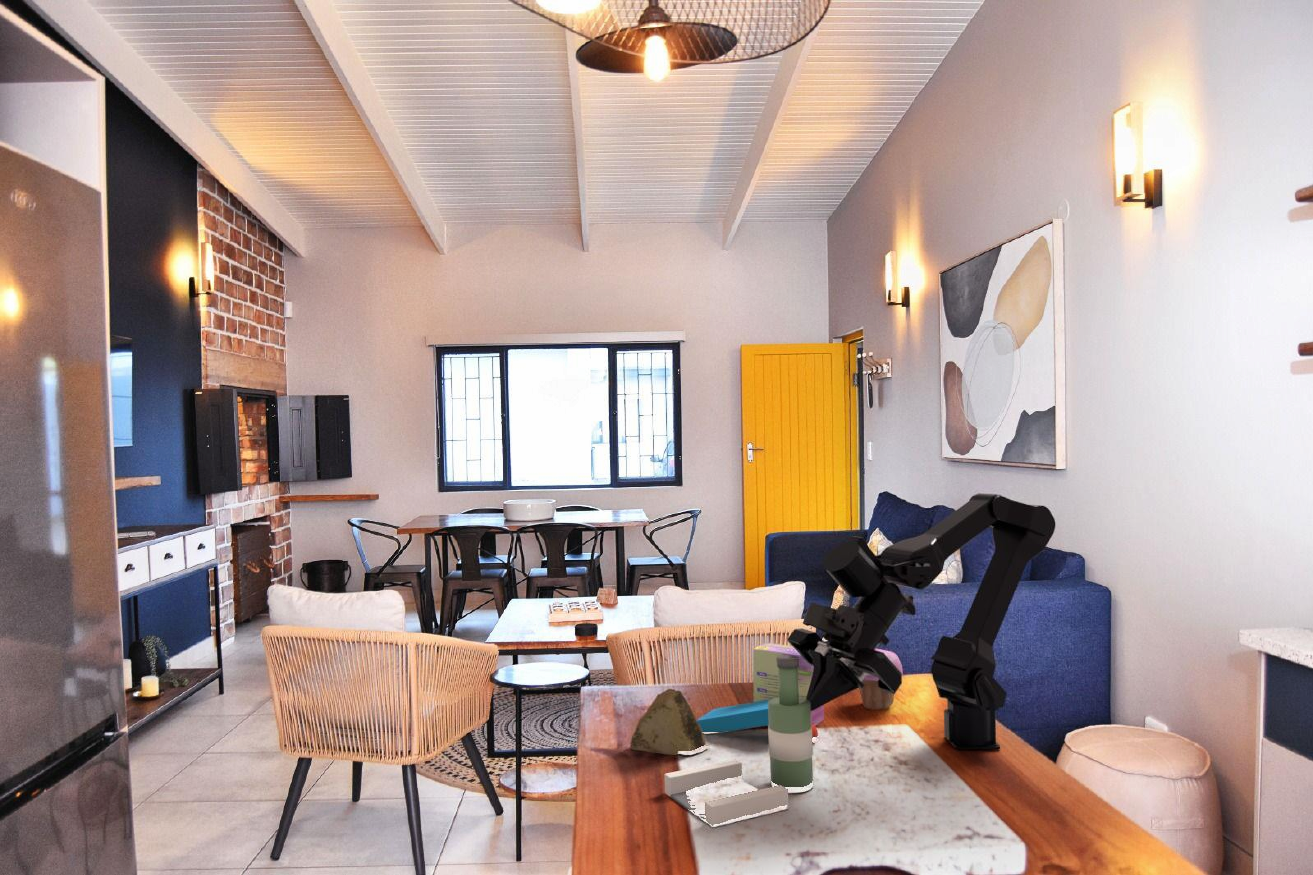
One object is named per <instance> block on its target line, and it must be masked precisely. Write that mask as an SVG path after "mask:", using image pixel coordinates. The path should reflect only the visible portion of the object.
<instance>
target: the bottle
mask: <svg viewBox="0 0 1313 875" xmlns="http://www.w3.org/2000/svg"><path fill="white" fill-rule="evenodd" d="M776 663H777V667H778V678H779V697H778V698H774V699H771V700H770V701H769V702H768V714H769V725H768V726H767V727H768V728H767V732H768V755H769V763H770V764H769V769H770V782H771V781H772V782H773V783H775V784H777V785H781V786H783V787H804V786H807V785H809V784H810V783H812V781H813V782H814V771H813V767H814V764H813V756H814V748H813V747H814V746H813V745H814V744H813V742H812V726H811V706H810V701H808V700H806V699H804V698H799V689H798V667H799V657H797V656H792V655H783V656H778V657H777V658H776Z"/></svg>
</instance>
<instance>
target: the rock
mask: <svg viewBox="0 0 1313 875" xmlns="http://www.w3.org/2000/svg"><path fill="white" fill-rule="evenodd" d="M697 720H698V719H697V718H696V715H695V714H694V711H693V708H692V706H691V705H690V704H689V702H688V700H687V699H686V698H685V696H684V695H683V693H682V691H680V690H676V689H674V688H667V689H666V690H664V691H662V692H661V693H659V694H657V696H656V697H655V698H654V700H653V701H652V703H651V704H650V706H649V707H648V708H647V709H646V711H645V713H644V714H643V715H642V716H641V717H640V719H639V721H638V723H637V726H636V728H635V730H634V733H633V735H632V736H631V741H630V745H629V746H630V749H631V750H634V751H640V752H641V751H643V752H647V753H656V754H662V755H669V756H678V755H677V753H678V751H692V750H695V749H697V748H699V747H701V746H704V745H705V744H706V745H707V743H706V737H705V736H704V734H703V733H702V729H701V726H700V725H699V724H698V722H697Z"/></svg>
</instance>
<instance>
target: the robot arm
mask: <svg viewBox="0 0 1313 875" xmlns="http://www.w3.org/2000/svg"><path fill="white" fill-rule="evenodd" d="M989 527H991V528H992V531H991V534H992V541H993V545H994V552H993V553H992V557H991V558H990V562H989V564H988V566H987V569H986V570H985V573H984V575H983V578H982V580H981V582H980V584H979V587H978V590H977V592H976V593H975V596H974V599H973V601H972V603H971V605H970V608H969V610H968V613H967V614H966V617H965V619H964V622H963V624H962V626H961V629H960V631H959V632H958V633H956V634H955V635H954V636H953V637H951V636H948V635H942V637H941V638H940V639H939V642H938V645H937V648H936V650H935V652H934V654H933V655H932V656H931V657H930V659H931V660H933V661H932V664H931V667H930V674H931V675H932V680H933V682H934V684H935V686H936V687H935V688H936V690H937V694H938V696H939V698H941V699H945V700H947V703H946V704H947V708H946V709H944V710H943V722H944V723H943V726H944V727H943V729H944V732H943V733H944V737H945V739H947V741H948V742H949V743H950V744H951V746H953V747H954V748H955V749H956V750H959V751H960V750H961V751H962V750H964V751H966V750H967V751H968V750H970V751H971V750H981V751H982V750H1000V749H1001V745H1000V744H999V743H998V742H997V733H996V732H997V727H996V726H997V725H996V723H997V722H996V721H997V720H996V718H997V717H996V711H998V710H999V709H1001V708H1003V707H1004V706H1005V703H1006V698H1007V691H1006V690H1005V689H1004V688H1003V687H1002V686H1001V685H1000V683H998V681H997V680H996V679H995V677H994V674H995V671H996V667H997V664H996V659H995V654H994V653H995V652H994V648H993V646H994V644H995V641H996V638H997V636H998V633H999V631H1000V629H1001V627H1002V624H1003V621H1004V619H1005V617H1006V615H1007V612H1008V610H1009V607H1010V605H1011V602H1012V600H1013V598H1014V596H1015V593H1016V590H1017V589H1018V585H1019V584H1020V580H1021V579H1022V576H1023V574H1024V572H1025V568H1026V567H1027V564H1028V563H1029V562H1030V561H1031V560H1033V559H1034V558H1035V557H1037V556H1038V555H1039V554H1041V553H1042V552H1043V551H1044V550H1045V549H1046V547H1047V545H1048V543H1049V542H1050V540H1051V538H1052V537H1053V535H1054V533H1055V530H1056V519H1055V517H1054V516H1053V513H1052V512H1051V510H1050V509H1049V507H1047V506H1045V505H1036V504H1027V503H1024V502H1020V501H1016V500H1013V499H1010V498H1009V497H1006V496H1003V495H1001V494H998V493H996V494H994V493H976V494H973V495H972V496H971V497H970V498H969V501H967V502H966V503H964V504H963V505H962V506H960V507H959V508H958V509H956V510H955V511H953V512H952V513H950V514H949V515H947V516H946V517H945V518H943V519H942V520H940V521H939V522H938V523H937V524H935V525H934V526H933V527H931V528H929V529H928V530H927V531H925V533H924V532H923V533H922V534H920V535H918V536H914V537H910V538H906V539H902V540H900V541H897V542H895V543H893V544H890V545H889V546H886V547H885V548H884V549H883V550H882V552H881V553H880V554H875V553H874V551H872V550H871V548H870V547H869V545H868V543H867V542H866V540H865V539H864V538H863V537H861V536H851V537H850V538H849V540H848V541H845V542H842V543H840V544H838V545H837V546H835V547H834V548H833V549H832V550H830V551H828V552H827V554H826V555H825V558H824V561H823V568H824V570H825V571H826V572H827V573H828V575H830V576H831V578H832V579H833V580H834V581H835V582H836V583H837V584H838V586H839V587H840V588H841V589H842V590H843V591H844V593H845V594H846V595H847V596H848V597H849V598H858V599H857V601H856V602H855V604H853V606H848V605H844V604H840V605H839V606H838V607H837V608H834V607H830V606H826V605H822V604H819V603H816V602H812V601H811V602H809V604H808V607H807V610H806V613H805V616H804V618H803V621H802V624H803V625H805V626H807V627H809V626H810V627H813V628H815V629H817V630H819V631H821V633H820V635H821V636H819V635H818V633H817V632H815V631H813V630H808V629H805V628H794V630H793V631H792V632H791V634H790V635H789V636H788V638H787V642H788V643H789V644H790V646H793V647H794V648H795V649H796V650H797V651H798V653H799V654H800V655H801V656H802V657H803V658H804V659H805V660H806V661H807V662H808V663H809V664H811V665H812V666H814V669H813V674H812V679H811V683H810V686H809V690H808V693H807V697H806V700H808V701H810V706H811V711H813V710H815V709H817V708H819V707H821V706H822V705H824V706H825V705H827V704H828V703H829V702H831V701H834V700H835V699H837V698H840V697H842V696H843V695H846V694H848V693H850V692H852V691H855V690H857V689H859V688H861V689H862V688H863V687H864V684H863V683H862V681H863V679H864V678H865V676H866V675H869V674H871V675H874V676H877V677H878V678H879V680H878V685H879V688H880V689H881V690H883V691H886V692H889V693H892V694H894V695H895V694H896V693H897V691H898V690H899V688H900V687H901V685H902V684H903V674H902V673H901V672H900V671H899V670H898V669H897V667H896V666H895V665H894V664H893V663H892V662H891V661H890V660H889V658H888V657H887V656H886V655H885V654H884V653H883V652H880V651H876V650H875V649H878V646H879V645H880V646H881V645H882V646H884V647H886V646H887V645H888V643H889V641H890V639H889V638H888V637H887V633H888V632H889V630H890V629H891V627H892V626H893V624H894V623H895V622H896V620H897V618H898V617H899V615H900V614H905V615H910V616H915V615H916V613H917V611H916V606H915V604H914V596H913V595H911V594H906V593H905V592H903V590H902V589H901V588H900V587H904V588H909V589H914V590H924V589H926V588H927V587H929V586H930V585H932V583H933V582H934V581H935V580H936V579H937V578H938V577H939V575H940V574H942V572H943V571H944V566H945V562H946V561H947V560H948V558H949V557H951V556H952V555H953V554H956V552H957V551H959V550H961V548H963V547H964V546H965V545H966V544H968V543H969V542H971V541H972V540H973V539H975V538H976V537H977V536H979V535H980V534H982V533H983V532H985V531H986V530H987V529H988V528H989ZM822 638H823V639H824V640H823V639H822ZM825 640H826V641H827V642H828V643H825Z"/></svg>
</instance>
